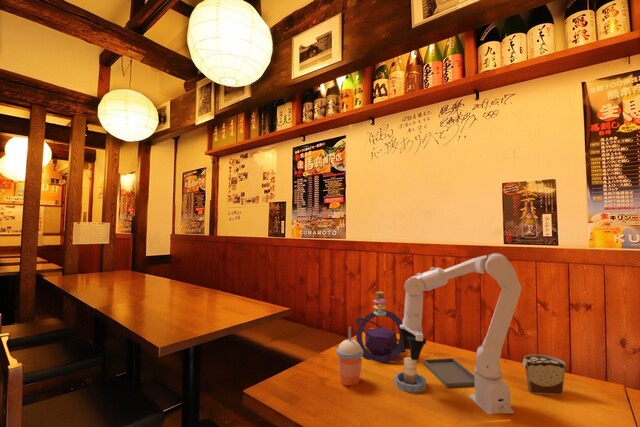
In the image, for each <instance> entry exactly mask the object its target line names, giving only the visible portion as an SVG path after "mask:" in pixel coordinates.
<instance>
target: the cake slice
mask: <svg viewBox="0 0 640 427" xmlns="http://www.w3.org/2000/svg"><path fill="white" fill-rule="evenodd" d="M522 365H523V367H524V368H525V373H526V382H527V383H526V384H527V389H528V392H529V393H530V394H535V395H536V394H537V395H552V396H553V395H556V396H557V395H559V396H563V395H564V386H565V385H564V384H565V383H564V382H565V369H566V370H568V367H567V364H566V362H565V361H563V360H562V359H559V358H556V357H554V356H549V355H546V354H540V353H539V354H538V353H531V354H530V353H529V354H526V355H525V356H524V358H523V359H522Z"/></svg>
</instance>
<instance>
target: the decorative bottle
mask: <svg viewBox="0 0 640 427" xmlns="http://www.w3.org/2000/svg"><path fill="white" fill-rule="evenodd" d="M384 295H385V292H384V291H375V299H373V300H372V302H373V303H375V305H373V306H372V307H373V308H374V309H375V311H372V312H370V313H368V314H366V316H364V317H356V318H355V324H356V325H357V326H358V328H357V330H356V336H355V337H356V338H355V339H356V340H355V341H356V342H358V343H359V345H360V346H361V348H362V349H363V352H364V353H363V356H362V357H364V358H365V359H366V360H369V361H374V362H377V363H380V364H387V363H390V362H391V361H393V360H396V358H398V356H399V355H400V354H404V353H405V352H406V349H404V347H403V341H402V335H401V332H400V329H399V326H400V325H403V320H401V318H400V317H398V316H397V315H396V314H395V313H393V312H391V311H389V310H386V308H387V305H385V304H386V302H387V299H385V298H384ZM375 317H376V318H377V317H385V318H386V317H387V318H389V319H391V320H392V322H394V323H395V324H396V326H397V328H398V333H399V339H398V337H397V336H398V335H397V332H396V331H394V330H391V329H388V328H385V327H383V326H381V325H380V324H379V323H376V322H374V321H373V320H372V319H374V318H375ZM367 323H370V324H373V325H375V326H377V327H374V328H366V329H364V328H365V326H366V325H367ZM363 333H364V337H365V338H364V339H365V340H364V343H363Z"/></svg>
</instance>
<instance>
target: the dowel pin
mask: <svg viewBox="0 0 640 427" xmlns="http://www.w3.org/2000/svg"><path fill="white" fill-rule="evenodd" d="M417 361H418V360H412V359H411V356H410V357H409V356H408V357H407V356H406V357H404V358H403V372H404V383H405V384H410V385H417V373H418V372H417V367H418V366H417V363H418V362H417Z"/></svg>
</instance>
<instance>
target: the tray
mask: <svg viewBox="0 0 640 427" xmlns="http://www.w3.org/2000/svg"><path fill="white" fill-rule="evenodd" d="M422 364H423V365H424V366H425V368H427V369H428V371H430V372H431V373H432V374H433V375H434V376H435V378H437V379H438V380H439V381H440V382H441V384H443V385H444V387H446V389H449V388H467V387H473V388H475V377H474V373H472V372H471V371H470V370H469V369H467V368H466V367H464V366H463V364H461V363H459V361H457V360H456V359H455V358H453V357H449V358H448V357H445V358H427V359H426V358H425V359H422Z"/></svg>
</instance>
